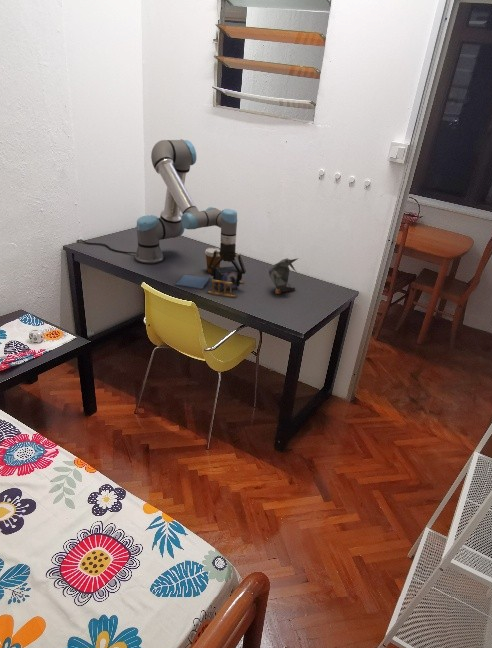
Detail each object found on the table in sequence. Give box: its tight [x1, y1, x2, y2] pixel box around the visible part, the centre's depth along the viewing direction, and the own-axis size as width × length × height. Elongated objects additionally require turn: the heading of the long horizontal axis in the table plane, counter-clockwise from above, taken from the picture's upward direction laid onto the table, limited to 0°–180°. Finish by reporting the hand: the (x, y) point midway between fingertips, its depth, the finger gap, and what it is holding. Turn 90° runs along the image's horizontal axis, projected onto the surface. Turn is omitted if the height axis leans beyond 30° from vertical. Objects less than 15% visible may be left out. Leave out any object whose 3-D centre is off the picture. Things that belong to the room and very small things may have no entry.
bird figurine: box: [268, 257, 299, 295], centre depth 235 cm, size 14×15×18 cm
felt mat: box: [175, 273, 210, 290], centre depth 238 cm, size 14×14×1 cm
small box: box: [214, 265, 238, 292], centre depth 233 cm, size 11×6×10 cm, turn 117°
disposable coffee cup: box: [204, 247, 221, 274], centre depth 249 cm, size 10×10×12 cm
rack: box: [207, 279, 244, 299], centre depth 234 cm, size 14×19×7 cm
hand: (226, 283), depth 235 cm, fingers open, 12 cm apart
